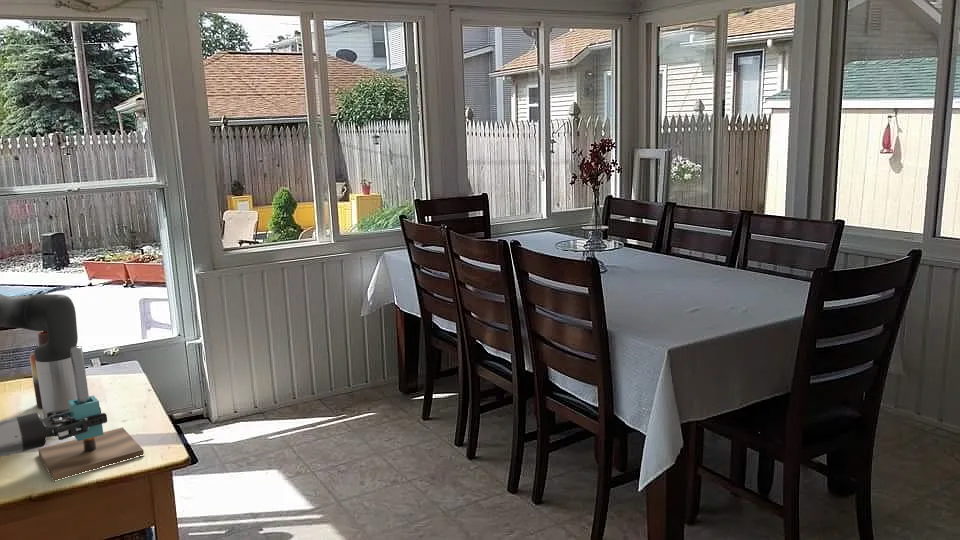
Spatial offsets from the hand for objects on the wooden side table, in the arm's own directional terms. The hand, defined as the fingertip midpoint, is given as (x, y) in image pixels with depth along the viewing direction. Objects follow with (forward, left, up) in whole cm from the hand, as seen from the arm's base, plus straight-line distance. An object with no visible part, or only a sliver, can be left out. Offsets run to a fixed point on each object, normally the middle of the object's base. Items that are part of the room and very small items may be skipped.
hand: (103, 413), depth 168 cm
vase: (-44, -12, -9) cm, 47 cm away
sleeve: (+1, -4, -4) cm, 5 cm away
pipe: (+1, -4, -7) cm, 8 cm away
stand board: (+1, -4, -9) cm, 10 cm away
